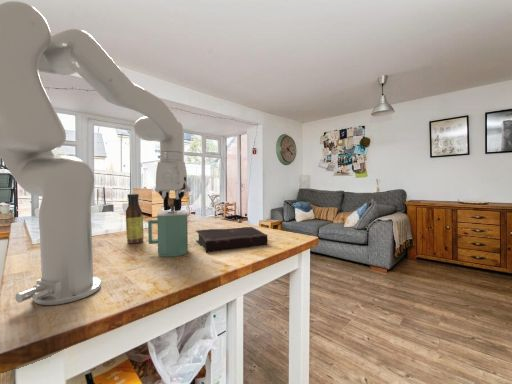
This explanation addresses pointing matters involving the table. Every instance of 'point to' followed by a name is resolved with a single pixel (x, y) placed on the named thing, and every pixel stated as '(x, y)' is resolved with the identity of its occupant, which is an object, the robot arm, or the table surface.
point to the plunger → (171, 203)
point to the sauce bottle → (134, 220)
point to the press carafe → (170, 233)
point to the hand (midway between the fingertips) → (172, 209)
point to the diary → (230, 238)
